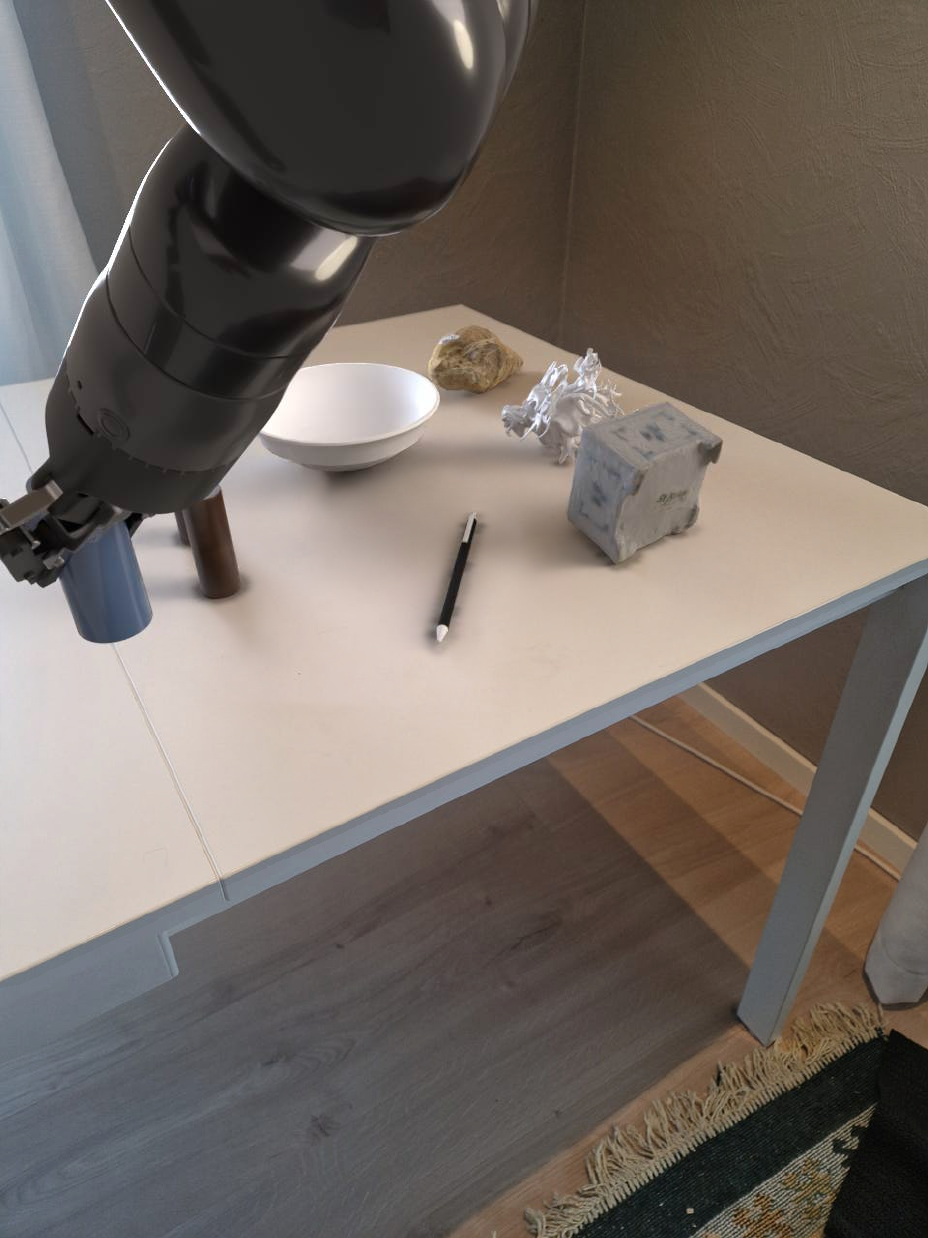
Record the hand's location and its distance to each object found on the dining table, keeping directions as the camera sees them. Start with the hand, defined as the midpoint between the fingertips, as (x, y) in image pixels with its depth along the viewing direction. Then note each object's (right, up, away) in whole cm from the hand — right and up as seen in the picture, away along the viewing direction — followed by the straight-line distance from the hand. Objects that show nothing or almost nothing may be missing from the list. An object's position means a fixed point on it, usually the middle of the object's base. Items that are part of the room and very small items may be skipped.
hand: (73, 550), depth 47 cm
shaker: (+2, -4, +2) cm, 5 cm away
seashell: (+23, +24, +57) cm, 66 cm away
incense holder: (+36, +4, +30) cm, 47 cm away
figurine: (+33, +13, +43) cm, 56 cm away
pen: (+21, 0, +25) cm, 33 cm away
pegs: (-1, +1, +28) cm, 28 cm away
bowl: (+9, +13, +43) cm, 46 cm away
